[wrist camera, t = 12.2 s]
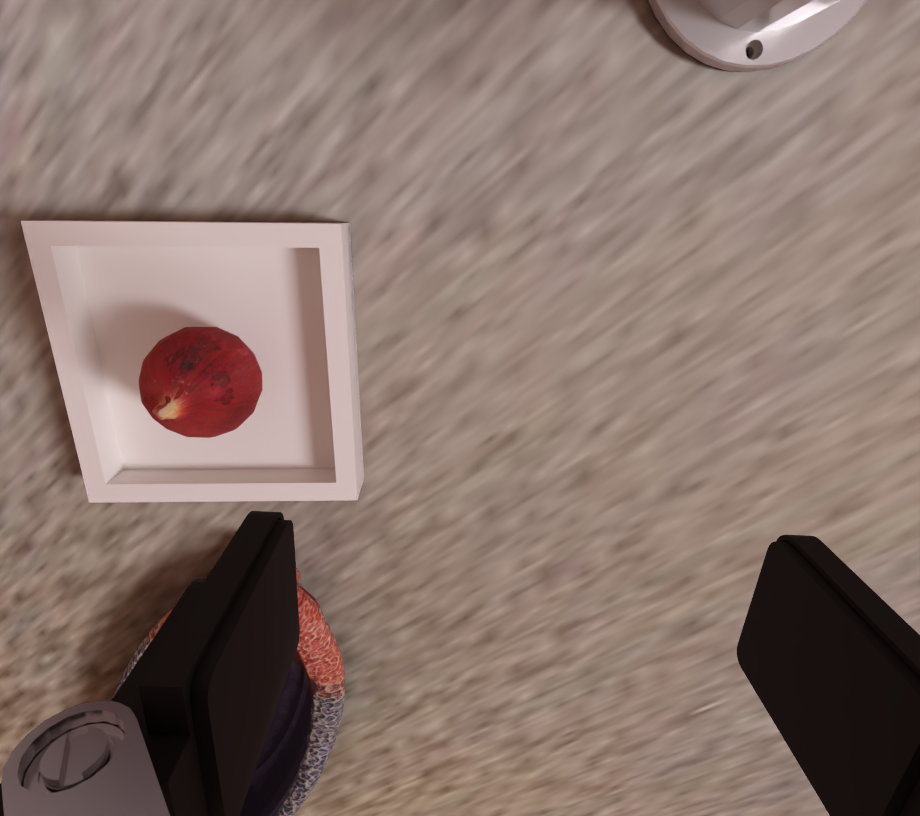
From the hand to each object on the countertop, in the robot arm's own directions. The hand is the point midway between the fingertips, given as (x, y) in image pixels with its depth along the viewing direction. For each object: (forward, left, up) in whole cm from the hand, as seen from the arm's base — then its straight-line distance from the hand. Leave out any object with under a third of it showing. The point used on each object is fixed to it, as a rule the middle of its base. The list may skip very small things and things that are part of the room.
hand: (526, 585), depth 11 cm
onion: (+2, -14, -23) cm, 27 cm away
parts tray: (+2, -15, -24) cm, 28 cm away
